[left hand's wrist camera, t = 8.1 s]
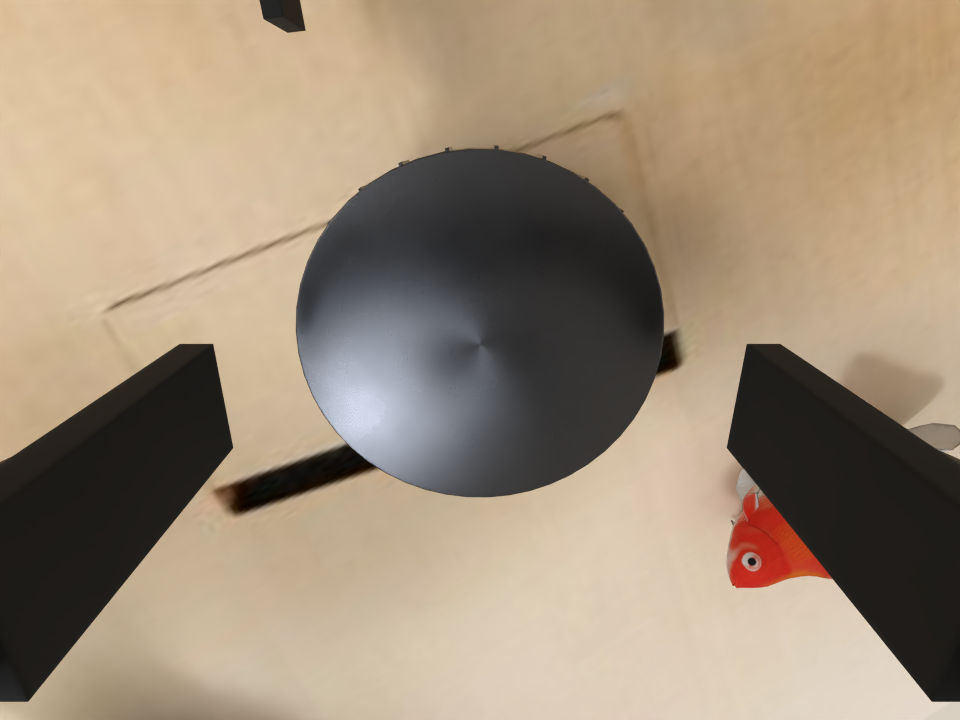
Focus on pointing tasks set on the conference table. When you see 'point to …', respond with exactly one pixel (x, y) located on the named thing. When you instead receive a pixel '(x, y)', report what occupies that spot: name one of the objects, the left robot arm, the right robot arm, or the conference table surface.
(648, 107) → the conference table surface
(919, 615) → the left robot arm
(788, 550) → the fish
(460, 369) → the lid
